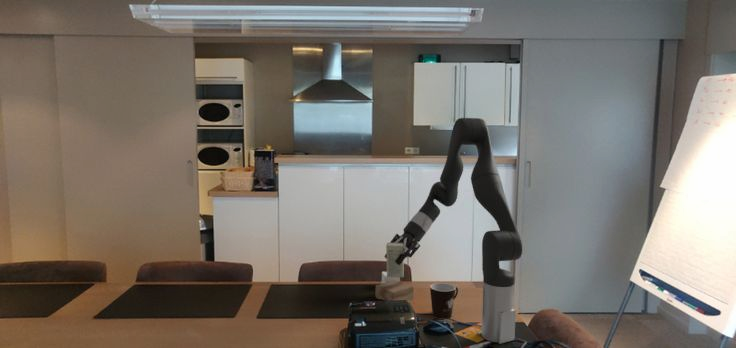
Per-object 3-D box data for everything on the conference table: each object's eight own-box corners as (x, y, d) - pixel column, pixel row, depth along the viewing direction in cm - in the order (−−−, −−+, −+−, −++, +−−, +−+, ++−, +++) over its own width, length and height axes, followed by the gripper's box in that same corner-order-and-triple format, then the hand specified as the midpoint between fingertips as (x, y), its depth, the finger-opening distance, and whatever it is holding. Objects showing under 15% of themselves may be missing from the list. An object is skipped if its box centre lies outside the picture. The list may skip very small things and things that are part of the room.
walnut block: (413, 299, 186) (413, 286, 185) (393, 306, 180) (393, 292, 179) (394, 292, 194) (395, 280, 193) (375, 298, 187) (375, 285, 187)
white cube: (381, 286, 200) (381, 271, 200) (396, 285, 202) (396, 270, 201) (384, 291, 195) (385, 276, 194) (399, 290, 196) (400, 275, 195)
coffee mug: (435, 321, 165) (436, 292, 164) (425, 311, 174) (426, 284, 172) (467, 318, 168) (468, 289, 167) (456, 309, 177) (457, 281, 176)
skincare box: (403, 274, 188) (404, 242, 186) (403, 278, 183) (403, 245, 182) (386, 273, 188) (386, 241, 187) (385, 277, 184) (386, 244, 183)
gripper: (401, 216, 193) (375, 250, 189) (423, 223, 181) (396, 259, 176) (413, 229, 197) (387, 262, 192) (435, 236, 184) (408, 272, 180)
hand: (391, 260), depth 184 cm, fingers closed on skincare box, 7 cm apart
